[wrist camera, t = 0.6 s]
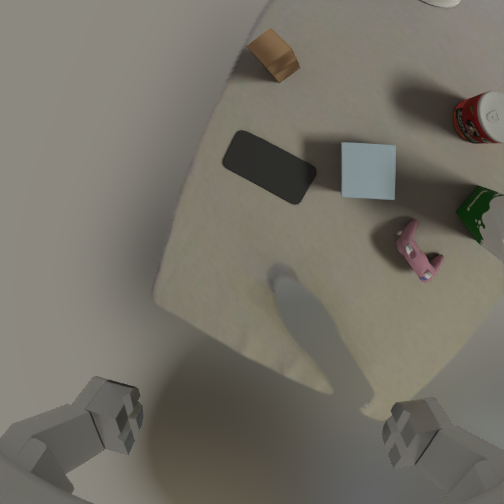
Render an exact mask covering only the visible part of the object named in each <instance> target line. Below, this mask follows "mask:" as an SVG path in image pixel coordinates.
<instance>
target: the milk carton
mask: <svg viewBox="0 0 504 504" xmlns="http://www.w3.org/2000/svg"><path fill="white" fill-rule="evenodd" d="M456 213H457V215H458V216H459V217H460V219H461V220H462V221H463V223H464V224H465V225H466V227H467V228H468V230H469V231H470V232H471V234H472V235H473V237H474V238H475V240H476V241H477V242H478V243H479V244H480V245H481V246H482V247H484V248H485V249H486V250H488V251H489V252H490V253H492V254H493V255H494V256H496V257H497V258H498V259H499V260H501V261H502V262H503V263H504V194H502V193H498V192H496V191H493V190H490V189H487V188H484V187H481V186H478V187H477V188H476V190H475V191H474V192H473V193H472V194H471V195H470V197H469V198H468V199H467V200H466V201H465V202H464V204H463V205H462V206H461V207H460V208H459V209H458V210H457V211H456Z"/></svg>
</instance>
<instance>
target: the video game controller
mask: <svg viewBox="0 0 504 504" xmlns="http://www.w3.org/2000/svg"><path fill="white" fill-rule="evenodd" d="M417 227H418V220H417V219H414V220H412V221H410V222H409V223H408V224H407V226H406V227H405V228H404V230H403V231H402V233H401V235H400V237H399V238H398V239H397V241H396V244H397V247H398V251H399V252H400V253H401V254H402V255H403V256H404V257H405V258H406V260H407V261H408V263H409V264H410V266H411V267H412V269H413V270H414V271H415V272H416V273H417V275H418V276H419V278H420V280H421V281H422V282H423V283H426V282H428V281H430V280H431V279H432V278H434V276H435V275H436V274H437V272H438V270H439V269H440V267H441V265H442V263H443V261H444V256H443V255H438V256H436V257H435V258H434V259H433V260H432V261H431V262H430V263H429V262H428V259H427V257H426V255H425V254H424V253H423V252H422V251H421V250H420V249H419V248H418V246H417V244H416V242H415V241H414V240H413V235H414V233H415V231H416V229H417Z"/></svg>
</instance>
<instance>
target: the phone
mask: <svg viewBox="0 0 504 504" xmlns="http://www.w3.org/2000/svg"><path fill="white" fill-rule="evenodd" d="M224 166H225V167H226V168H227V169H229V170H231V171H233V172H234V173H237V174H238V175H240V176H242V177H244V178H246V179H248V180H249V181H252V182H253V183H255V184H257V185H259V186H261V187H263V188H264V189H266V190H268V191H270V192H272V193H273V194H275V195H277V196H279V197H280V198H282V199H284V200H286V201H288V202H289V203H291V204H295V205H296V204H299V203H300V202H301V200H302V198H303V197H304V195H305V193H306V191H307V190H308V188H309V186H310V184H311V182H312V181H313V179H314V177H315V175H316V169H315V168H314V167H313V166H312V165H310V164H308V163H306V162H305V161H303V160H301V159H299V158H297V157H296V156H294V155H292V154H290V153H288V152H286V151H284V150H282V149H281V148H279V147H277V146H275V145H273V144H271V143H269V142H268V141H266V140H264V139H262V138H259V137H257V136H255V135H253V134H251V133H249V132H247V131H239V132H238V133H237V134H236V136H235V138H234V140H233V142H232V144H231V146H230V148H229V150H228V153H227V155H226V157H225V159H224Z"/></svg>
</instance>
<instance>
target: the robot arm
mask: <svg viewBox="0 0 504 504" xmlns="http://www.w3.org/2000/svg"><path fill="white" fill-rule="evenodd" d="M422 1H424V2H426V3H428V4H431V5H434V6H438V7H453V6H456V5H457V4H459V3H460V1H461V0H422ZM139 398H140V392H139V389H138V388H137V387H135V386H131V385H127V384H124V383H120V382H116V381H113V380H108V379H105V378H102V377H98V376H95V377H93V378H92V379H91V380H90V381H89V383H88V384H87V385H86V387H85V388H84V389H83V390H82V392H81V393H80V394H79V395H78V397H77V398H76V399H75V401H74V402H73V403H72V405H70V404H66V405H63V406H60V407H58V408H55V409H53V410H50V411H47V412H44V413H42V414H39V415H37V416H33V417H31V418H28V419H25V420H22V421H20V422H16V423H13V424H12V425H11V426H10V427H9V428H8V430H7V431H6V432H5V433H4V434H3V436H2V437H1V438H0V504H93V503H91V502H88V501H86V500H84V499H81V498H79V497H77V496H75V495H72V492H73V490H74V487H73V484H72V483H71V482H70V480H69V479H68V478H67V476H66V475H65V474H67V473H68V472H70V471H72V470H73V469H75V468H77V467H78V466H80V465H82V464H83V463H85V462H86V461H88V460H89V459H91V458H93V457H94V456H96V455H97V454H99V453H100V452H102V451H104V449H108V450H111V451H115V452H118V453H122V454H125V455H129V453H130V451H131V449H132V446H133V444H134V442H135V440H134V436H133V435H134V434H136V433H137V432H139V431H140V429H141V426H142V423H143V418H144V417H143V416H144V414H143V406H142V405H141V404H140V403H139V402H138V400H139ZM391 413H392V416H391V417H389V418H388V419H387V420H386V422H385V424H384V426H383V432H382V436H383V441H384V444H385V446H387V447H388V448H390V452H389V458H390V461H391V464H392V466H393V469H395V468H400V467H406V466H412V465H415V467H416V468H418V469H419V470H420V471H421V472H422V473H423V474H425V475H426V476H427V477H428V478H429V479H431V480H432V481H433V482H434V483H435V484H436V485H438V486H439V487H440V488H441V489H442V490H444V491H445V492H446V493H447V495H446V496H445V497H444V498H443V499H442V500H441V501H440V502H439V504H504V450H503V449H500V448H499V447H497V446H495V445H493V444H491V443H489V442H487V441H485V440H483V439H481V438H480V437H478V436H476V435H474V434H472V433H470V432H468V431H466V430H465V429H463V428H461V427H459V426H454V425H453V423H452V422H451V420H450V419H449V417H448V415H447V414H446V412H445V411H444V409H443V408H442V406H441V405H440V403H439V402H438V400H437V399H436V398H435V397H430V398H424V399H418V400H411V401H403V402H396V403H395V404H394V405H393V407H392V409H391Z"/></svg>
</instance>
